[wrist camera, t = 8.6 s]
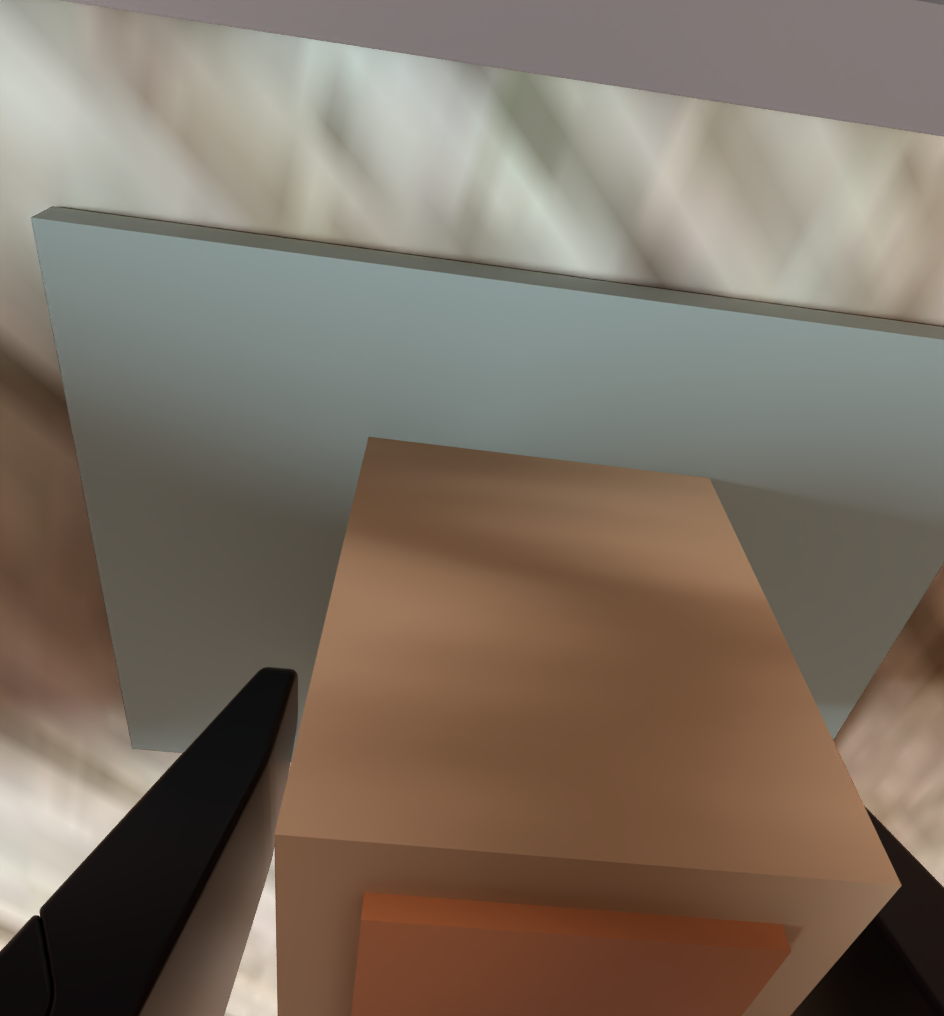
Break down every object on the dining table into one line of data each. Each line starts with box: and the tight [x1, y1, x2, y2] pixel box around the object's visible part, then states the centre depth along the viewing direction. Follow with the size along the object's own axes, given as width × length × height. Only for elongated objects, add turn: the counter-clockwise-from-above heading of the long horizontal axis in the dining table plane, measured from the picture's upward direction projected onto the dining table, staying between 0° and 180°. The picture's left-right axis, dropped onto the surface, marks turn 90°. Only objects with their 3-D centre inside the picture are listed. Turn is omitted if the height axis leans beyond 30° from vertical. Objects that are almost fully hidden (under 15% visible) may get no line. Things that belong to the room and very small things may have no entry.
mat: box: [31, 206, 944, 762], centre depth 11 cm, size 12×9×1 cm
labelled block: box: [274, 437, 902, 1016], centre depth 9 cm, size 4×4×6 cm
